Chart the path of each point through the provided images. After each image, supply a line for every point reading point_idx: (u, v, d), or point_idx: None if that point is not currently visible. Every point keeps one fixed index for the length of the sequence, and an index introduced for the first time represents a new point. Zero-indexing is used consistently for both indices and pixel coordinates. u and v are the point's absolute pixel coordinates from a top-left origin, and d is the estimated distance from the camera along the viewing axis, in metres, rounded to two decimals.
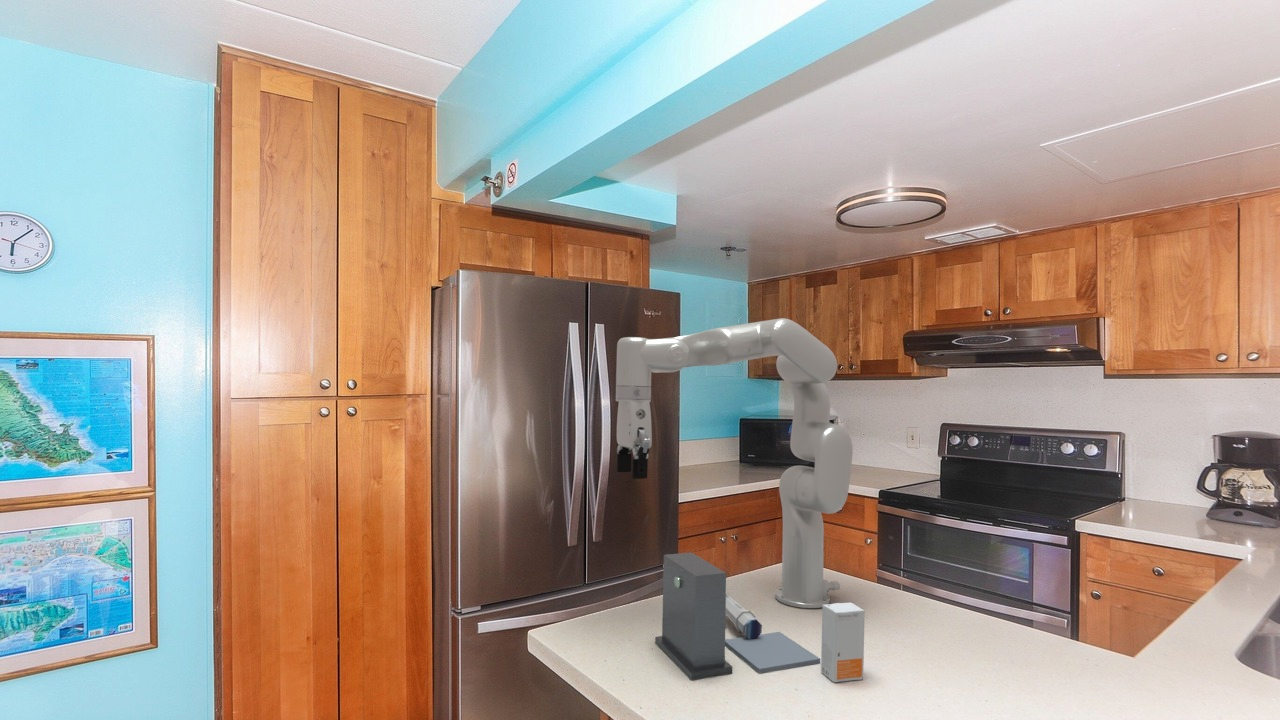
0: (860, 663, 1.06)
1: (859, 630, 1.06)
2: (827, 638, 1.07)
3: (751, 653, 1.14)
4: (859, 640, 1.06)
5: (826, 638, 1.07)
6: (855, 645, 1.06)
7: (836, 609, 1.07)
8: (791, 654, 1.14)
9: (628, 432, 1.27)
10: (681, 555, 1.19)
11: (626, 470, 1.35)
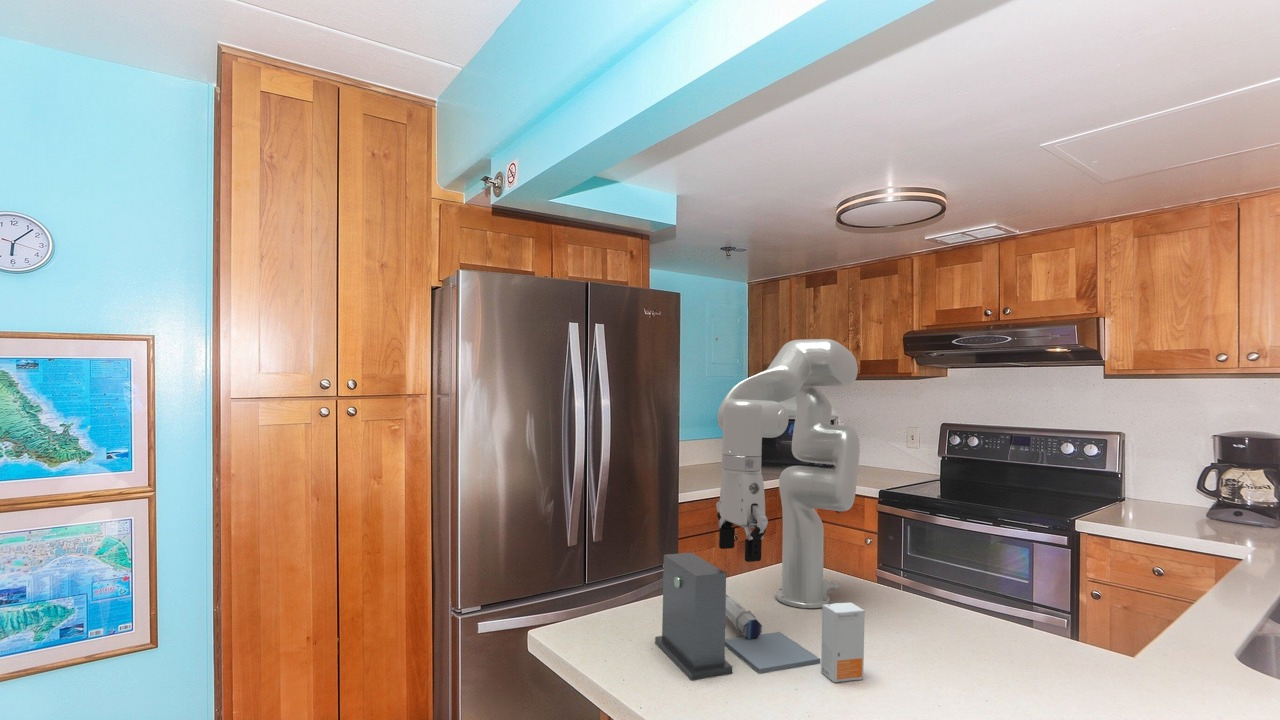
0: (860, 663, 1.06)
1: (859, 630, 1.06)
2: (827, 638, 1.07)
3: (751, 653, 1.14)
4: (859, 640, 1.06)
5: (826, 638, 1.07)
6: (855, 645, 1.06)
7: (836, 609, 1.07)
8: (791, 654, 1.14)
9: (740, 508, 1.14)
10: (681, 555, 1.19)
11: (729, 546, 1.22)
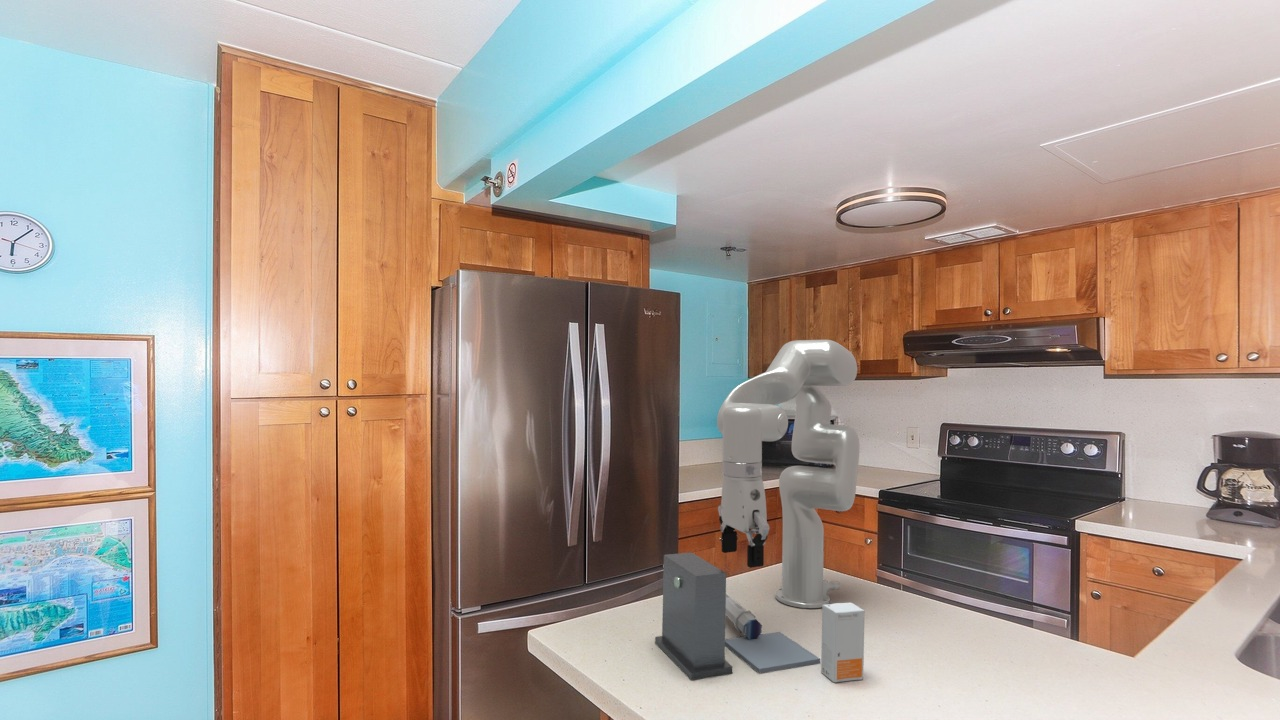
0: (860, 663, 1.06)
1: (859, 630, 1.06)
2: (827, 638, 1.07)
3: (751, 653, 1.14)
4: (859, 640, 1.06)
5: (826, 638, 1.07)
6: (855, 645, 1.06)
7: (836, 609, 1.07)
8: (791, 654, 1.14)
9: (741, 515, 1.14)
10: (681, 555, 1.19)
11: (732, 550, 1.23)
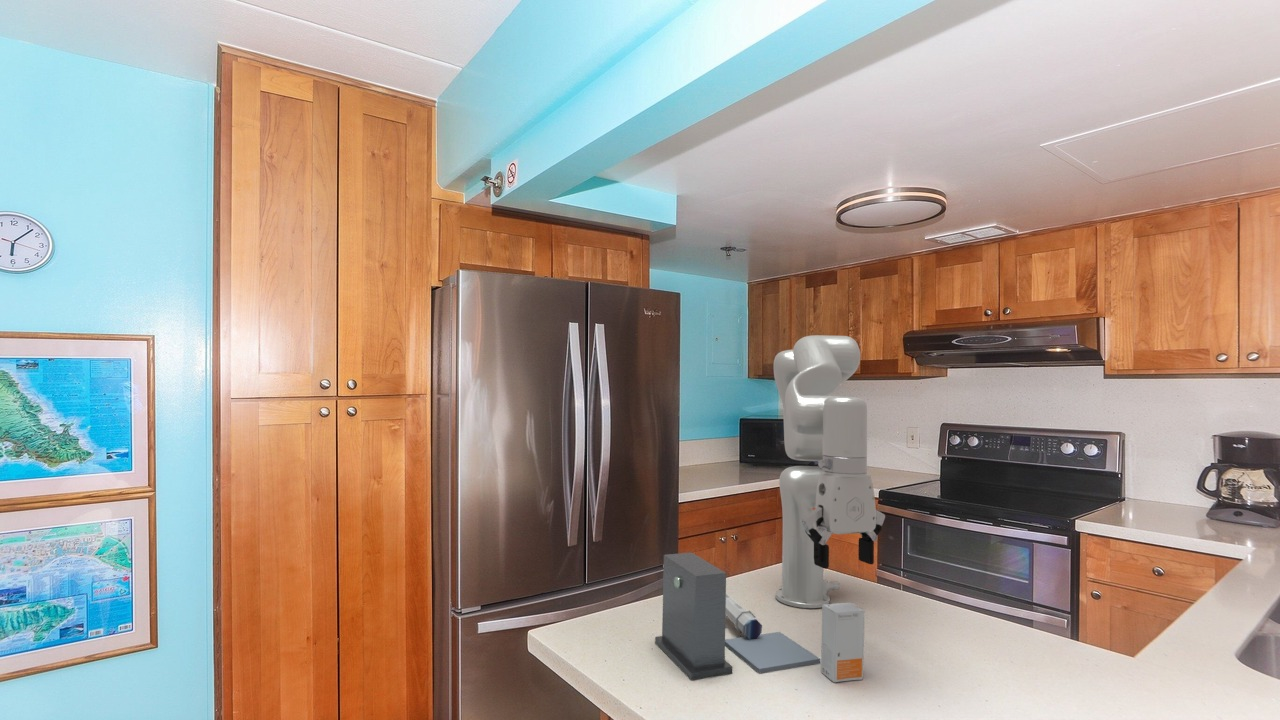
0: (860, 663, 1.06)
1: (859, 630, 1.06)
2: (827, 638, 1.07)
3: (751, 653, 1.14)
4: (859, 640, 1.06)
5: (826, 638, 1.07)
6: (855, 645, 1.06)
7: (836, 609, 1.07)
8: (791, 654, 1.14)
9: None
10: (681, 555, 1.19)
11: (866, 561, 1.09)
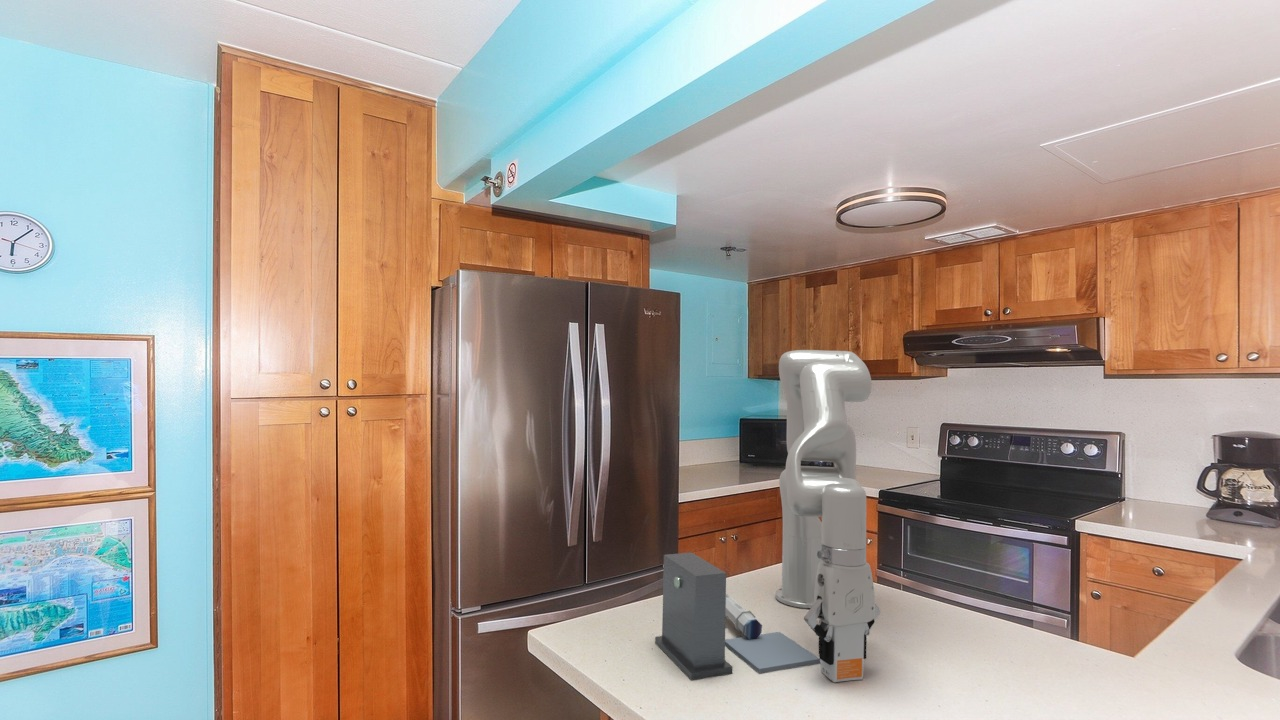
0: (860, 663, 1.06)
1: (859, 630, 1.06)
2: None
3: (751, 653, 1.14)
4: (859, 640, 1.06)
5: None
6: (855, 645, 1.06)
7: None
8: (791, 654, 1.14)
9: None
10: (681, 555, 1.19)
11: None
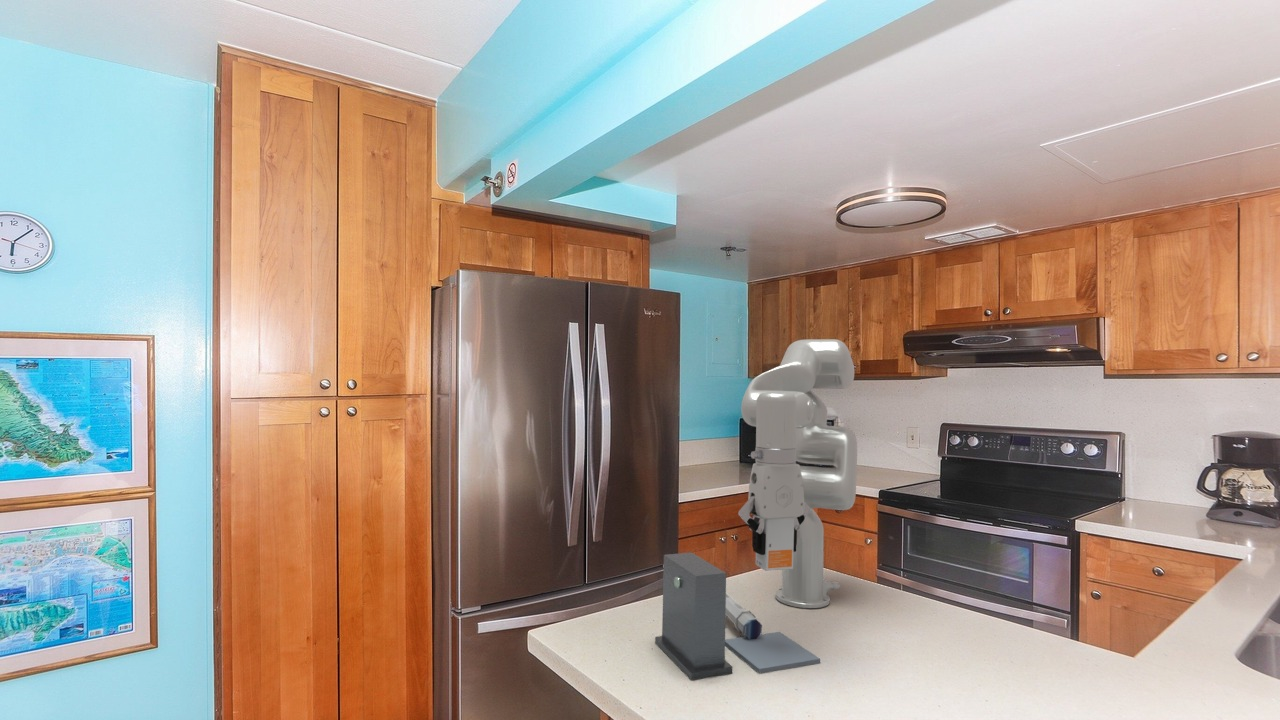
0: (790, 554, 1.15)
1: (789, 524, 1.15)
2: None
3: (751, 653, 1.14)
4: (789, 533, 1.15)
5: None
6: (785, 538, 1.15)
7: None
8: (791, 654, 1.14)
9: None
10: (681, 555, 1.19)
11: None
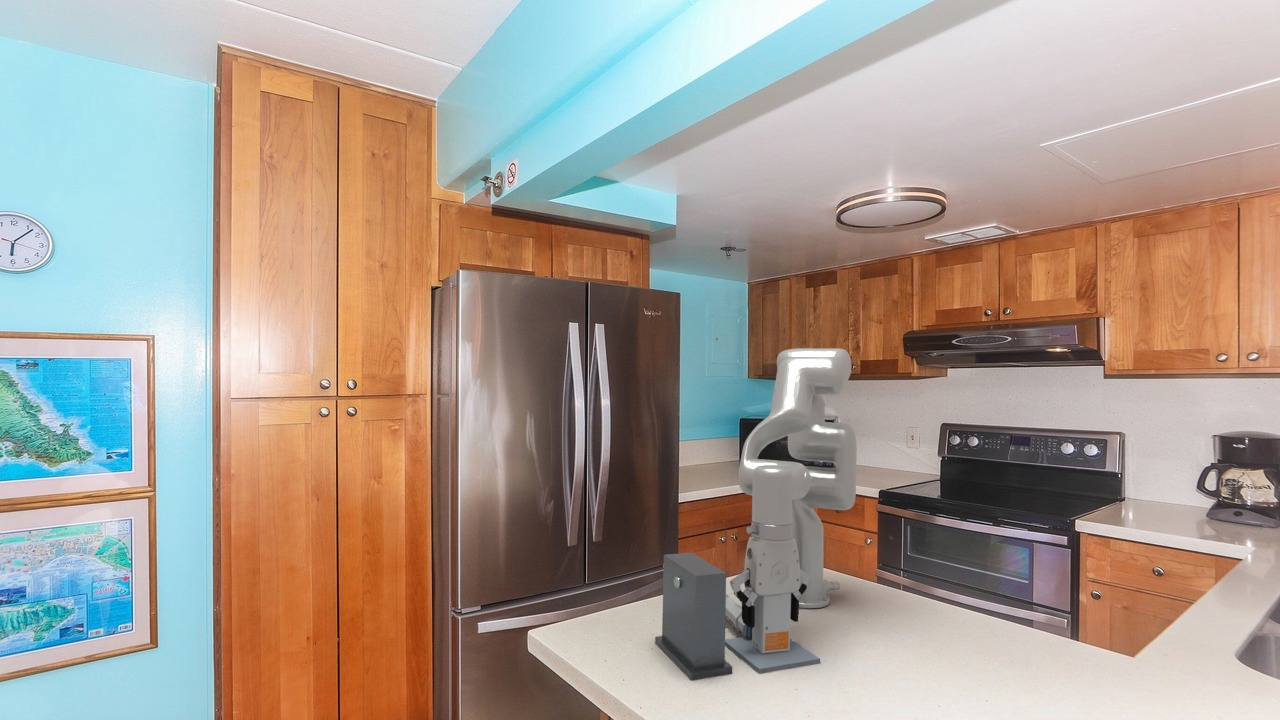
0: (787, 636, 1.15)
1: (785, 605, 1.15)
2: (757, 613, 1.16)
3: (751, 653, 1.14)
4: (786, 614, 1.15)
5: (756, 613, 1.16)
6: (782, 619, 1.15)
7: None
8: (791, 654, 1.14)
9: None
10: (681, 555, 1.19)
11: (791, 618, 1.18)
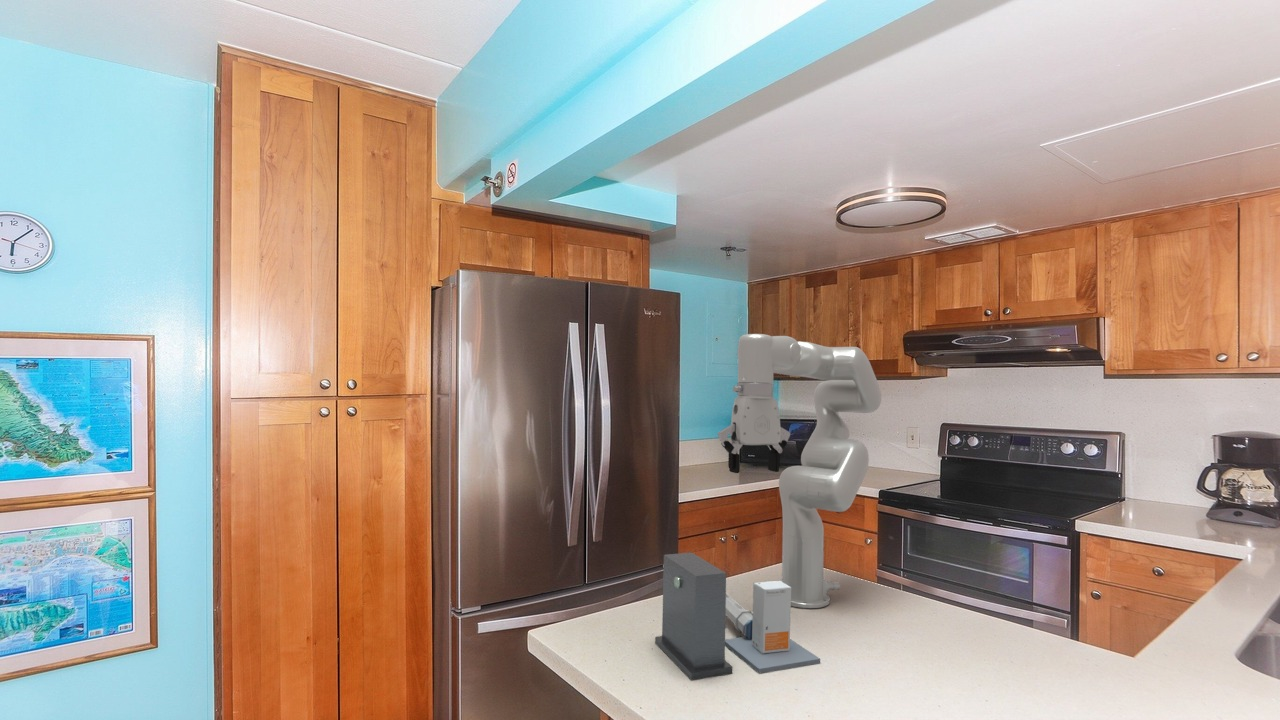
0: (787, 636, 1.15)
1: (785, 605, 1.15)
2: (757, 613, 1.16)
3: (751, 653, 1.14)
4: (786, 614, 1.15)
5: (756, 613, 1.16)
6: (782, 619, 1.15)
7: (765, 586, 1.16)
8: (791, 654, 1.14)
9: None
10: (681, 555, 1.19)
11: (773, 469, 1.32)
